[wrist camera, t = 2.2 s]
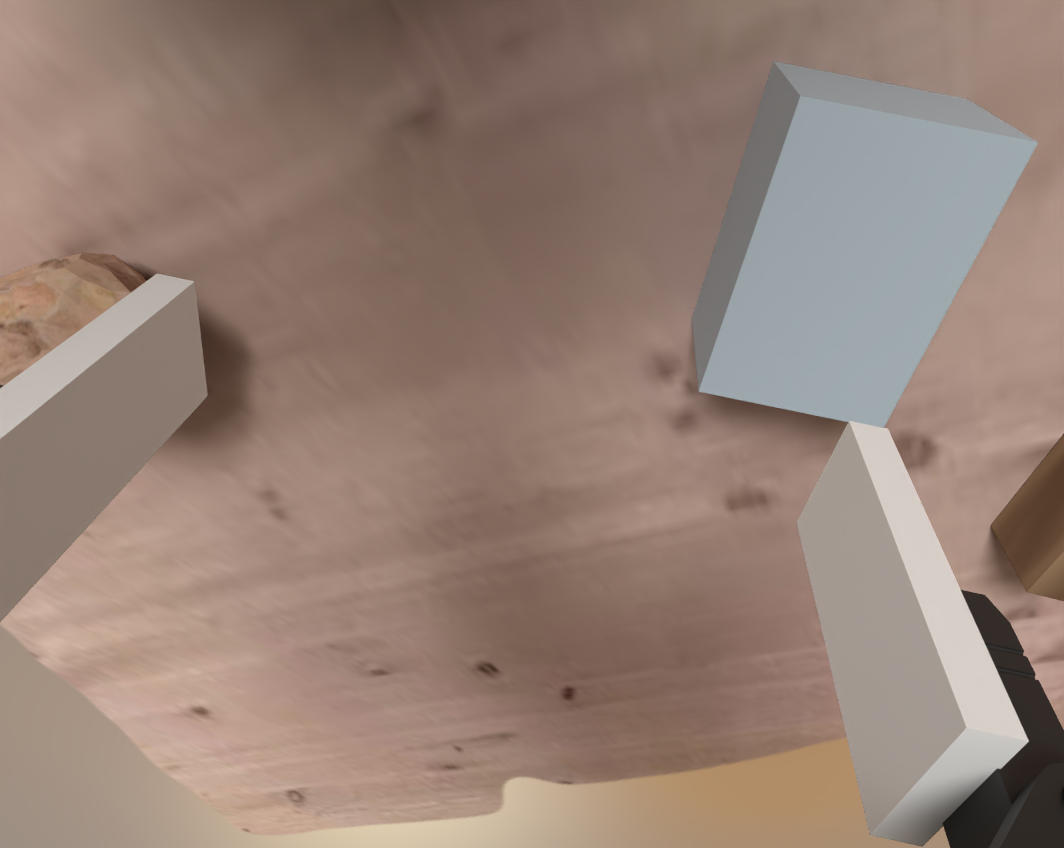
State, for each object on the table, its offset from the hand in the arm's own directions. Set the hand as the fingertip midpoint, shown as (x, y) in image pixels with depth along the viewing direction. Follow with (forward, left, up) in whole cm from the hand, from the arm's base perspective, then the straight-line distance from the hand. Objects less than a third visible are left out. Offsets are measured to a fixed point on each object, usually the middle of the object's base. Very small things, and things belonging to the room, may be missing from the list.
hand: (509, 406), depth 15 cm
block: (+11, -1, -22) cm, 25 cm away
